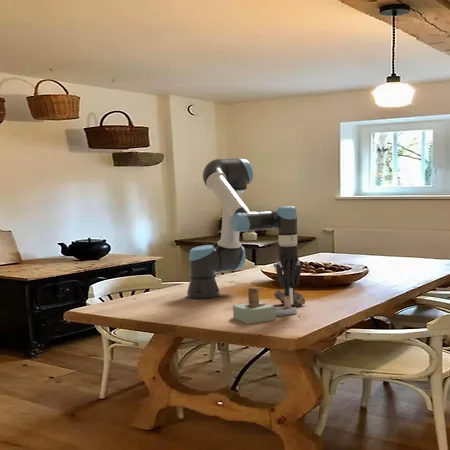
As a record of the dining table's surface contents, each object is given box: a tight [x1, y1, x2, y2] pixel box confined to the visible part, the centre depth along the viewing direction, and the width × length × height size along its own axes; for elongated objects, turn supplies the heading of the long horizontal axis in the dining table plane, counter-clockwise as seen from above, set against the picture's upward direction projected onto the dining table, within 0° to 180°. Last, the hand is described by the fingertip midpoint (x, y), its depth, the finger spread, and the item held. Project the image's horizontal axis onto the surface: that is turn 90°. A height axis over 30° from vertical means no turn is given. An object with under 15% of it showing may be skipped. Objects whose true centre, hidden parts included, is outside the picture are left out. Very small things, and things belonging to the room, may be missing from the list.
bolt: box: [275, 297, 290, 310], centre depth 243 cm, size 2×9×6 cm, turn 117°
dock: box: [232, 301, 276, 325], centre depth 238 cm, size 12×12×5 cm
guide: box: [275, 306, 298, 318], centre depth 244 cm, size 5×12×2 cm, turn 117°
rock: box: [274, 289, 306, 307], centre depth 261 cm, size 7×11×10 cm
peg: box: [247, 286, 260, 308], centre depth 238 cm, size 4×4×12 cm
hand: (289, 303), depth 246 cm, fingers closed
